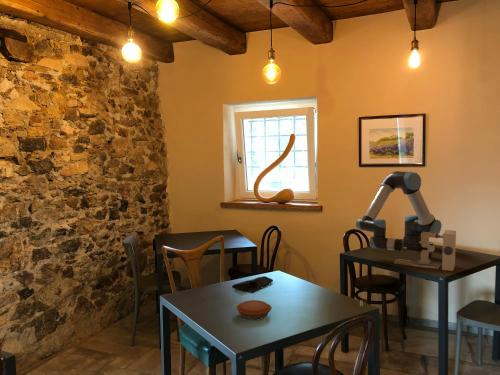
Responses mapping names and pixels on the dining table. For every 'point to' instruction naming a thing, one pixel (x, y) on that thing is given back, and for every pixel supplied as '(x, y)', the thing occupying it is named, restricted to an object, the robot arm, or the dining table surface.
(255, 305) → the pie
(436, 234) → the gauge plunger
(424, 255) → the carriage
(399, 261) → the rail bed
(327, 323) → the dining table surface
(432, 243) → the coffee mug
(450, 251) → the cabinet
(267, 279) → the dark slate chunk
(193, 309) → the dining table surface
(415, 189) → the robot arm
